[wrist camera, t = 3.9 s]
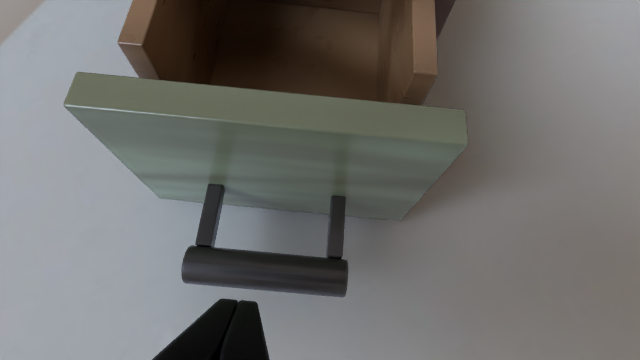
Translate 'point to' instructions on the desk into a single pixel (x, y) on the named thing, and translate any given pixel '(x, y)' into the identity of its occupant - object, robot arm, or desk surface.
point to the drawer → (276, 120)
